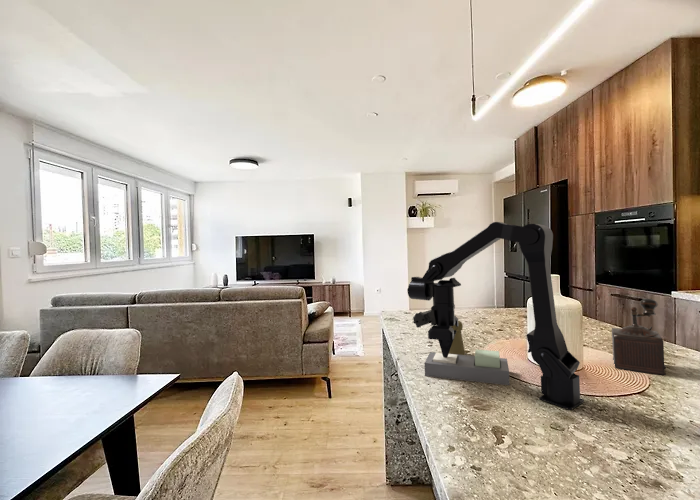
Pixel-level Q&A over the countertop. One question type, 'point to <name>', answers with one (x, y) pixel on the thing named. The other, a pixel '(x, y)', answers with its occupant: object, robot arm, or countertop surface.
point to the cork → (457, 341)
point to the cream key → (450, 359)
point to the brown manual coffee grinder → (639, 344)
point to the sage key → (487, 358)
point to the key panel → (467, 370)
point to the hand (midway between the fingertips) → (445, 357)
